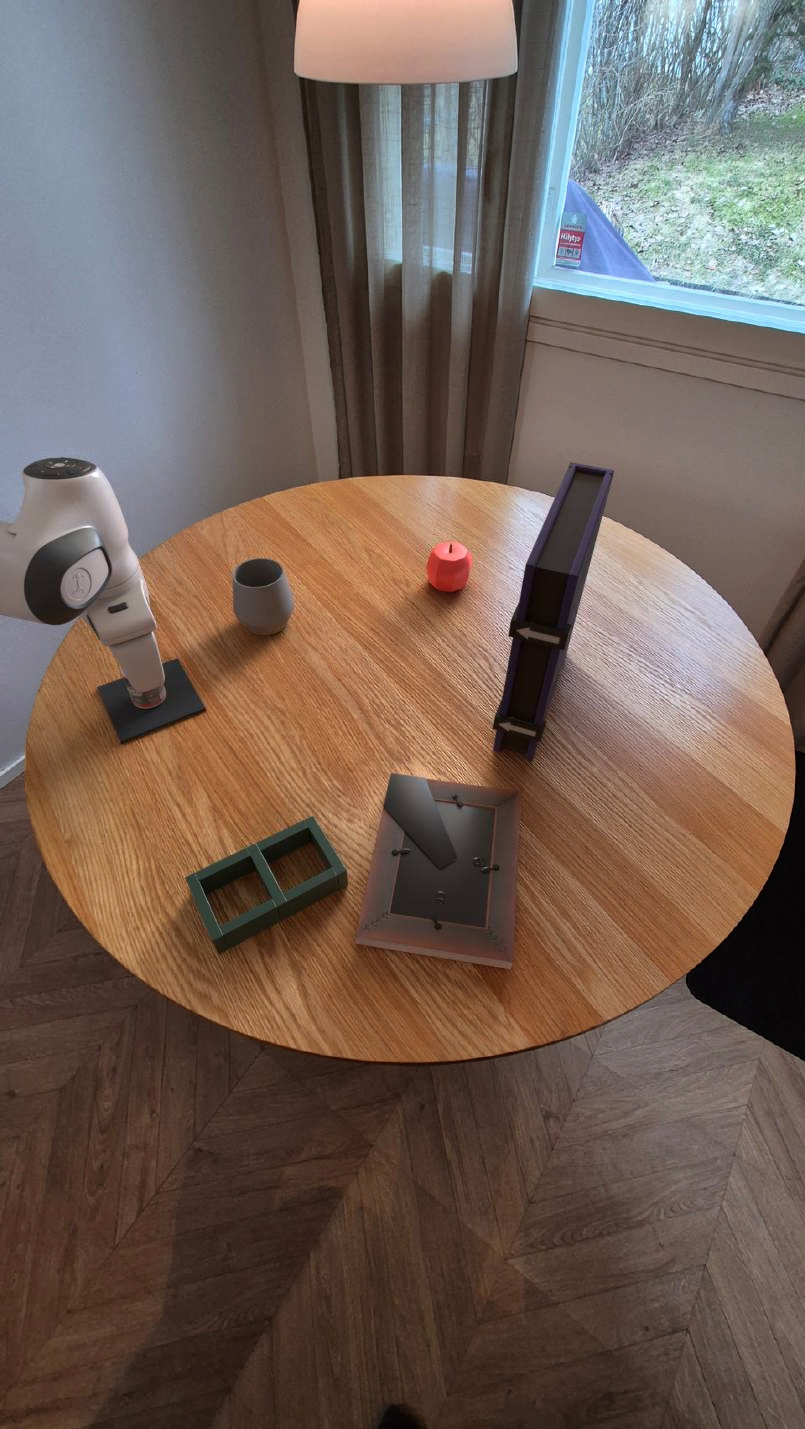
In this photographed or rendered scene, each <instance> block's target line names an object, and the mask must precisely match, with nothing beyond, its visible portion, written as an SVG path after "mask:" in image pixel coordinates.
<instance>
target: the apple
mask: <svg viewBox="0 0 805 1429" xmlns="http://www.w3.org/2000/svg"><path fill="white" fill-rule="evenodd" d="M473 565H474V563H473V556H472V555H471V553H470V551H469V550H468V549H467V548H466V547H465V546H464V545H463V544H461V543H459V542H454V541H445V542H442V543H441V542H440V543H439V544H436V545H435V546H434V547H433V548H432V549H431V552H430V554H429V556H428V558H427V563H426V566H425V568H426V574H427V578H428V582H429V583H430V584H431V585H432V586H433V587H434V588H435V589H436V590H438V591H440V592H449V593H450V592H451V593H453V592H455V591H458V590H461V589H464V588H466V586H467V582H468V580H469V578H470V573H471V572H472V571H471V570H472V568H473Z"/></svg>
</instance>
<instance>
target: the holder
mask: <svg viewBox="0 0 805 1429" xmlns="http://www.w3.org/2000/svg"><path fill="white" fill-rule="evenodd" d="M331 843H332V842H330V840H329V839H328V837H327V835H326V834H325V832H324V831H323V829H322V827H321V825H320V824H319V822H318V821H317V818H315V815H312V816H309V817H307V818H306V819H303V820H300V821H299V822H297V823H295V824H292V825H291V826H289V827H286V828H284V829H281V830H280V831H278V832H276V833H274V834H272V835H270V836H268V837H265V838H264V839H261V840H259V841H258V842H256V843H254V844H251V845H250V846H247V847H244V848H243V849H240V850H239V851H236V852H235V853H232V854H231V855H228V856H226V857H224V858H222V859H220V860H218V861H216V862H214V863H212V864H210V865H207V866H205V867H203V868H201V869H199V870H197V871H195V872H193V873H191V874H189V875H186V876H185V877H184V879H185V882H186V884H187V886H188V889H189V891H190V893H191V896H192V898H193V900H194V903H195V905H196V907H197V910H198V912H199V914H200V916H201V919H202V921H203V924H204V926H205V928H206V931H207V933H208V935H209V937H210V940H211V941H212V944H213V946H214V948H215V950H216V952H217V954H218V955H221V954H223V953H225V952H227V951H229V950H230V949H232V948H234V947H236V946H238V945H240V944H241V943H243V942H245V941H247V940H250V939H251V938H252V937H255V936H256V935H258V934H261V933H262V932H264V931H266V930H268V929H270V928H272V927H274V926H275V925H277V924H279V923H281V922H283V921H285V920H286V919H288V918H290V917H291V916H294V915H296V914H298V913H300V912H302V911H303V910H306V909H307V908H309V907H311V906H313V905H314V904H316V903H318V902H321V901H322V900H324V899H326V898H327V897H330V896H332V895H333V894H335V893H337V892H339V891H341V890H343V889H344V888H347V887H348V886H349V878H348V870H347V868H346V866H345V865H344V863H343V861H342V860H341V858H340V856H339V855H338V853H337V851H336V850H335V848H334V847H333V845H332V844H331ZM310 844H311V845H312V846H313V847H312V848H314V850H315V852H316V854H317V855H318V857H319V858H320V860H321V862H322V863H323V865H324V867H325V870H324V871H321V872H320V873H318V874H316V875H315V876H313V877H310V878H309V879H307V880H305V881H303V882H301V883H299V884H297V885H295V886H293V887H291V888H289V889H287V890H285V891H284V892H283V891H282V889H281V887H280V885H279V883H278V882H277V879H276V877H275V876H274V873H273V872H272V870H271V868H270V866H269V865H270V864H272V863H274V862H276V861H278V860H280V859H282V858H284V857H286V856H288V855H291V854H292V853H294V852H296V851H298V850H300V849H302V848H304V847H306V846H309V845H310ZM254 872H255V873H256V875H257V878H258V879H259V881H260V883H261V885H262V887H263V889H264V891H265V893H266V895H267V897H268V899H269V900H267V901H264V902H263V903H261V904H258V905H256V906H254V907H253V908H251V909H250V910H247V911H245V912H243V913H241V914H239V915H238V916H236V917H234V918H232V919H229V920H228V921H226V922H224V923H223V924H219V922H218V921H217V918H216V915H215V914H214V911H213V909H212V907H211V904H210V901H209V900H208V898H207V896H208V895H211V894H212V893H214V892H216V891H218V890H220V889H222V888H224V887H226V886H228V885H230V884H232V883H235V882H236V881H238V880H240V879H242V878H245V877H247V875H250V874H252V873H254Z"/></svg>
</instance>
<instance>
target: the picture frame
mask: <svg viewBox="0 0 805 1429" xmlns="http://www.w3.org/2000/svg"><path fill="white" fill-rule="evenodd" d="M521 808H522V791H520V790H512V789H505V788H500V787H499V788H498V787H497V788H496V787H490V786H483V785H475V784H469V783H460V782H453V781H448V780H447V781H446V780H439V779H432V778H426V777H424V776H417V775H408V774H401V773H393V772H390V775H389V780H388V783H387V789H386V792H385V797H384V801H383V806H382V812H381V817H380V820H379V825H378V830H377V834H376V839H375V844H374V847H373V848H374V849H373V854H372V857H371V862H370V867H369V871H368V874H367V880H366V884H365V885H366V886H365V888H364V894H363V898H362V899H363V900H362V902H361V907H360V913H359V917H358V922H357V925H356V930H355V935H354V939H355V944H356V945H361V946H366V947H367V946H368V947H373V948H380V949H385V950H390V951H391V950H392V951H397V952H403V953H409V954H415V955H421V956H422V955H423V956H428V957H434V958H440V959H445V960H452V961H457V962H465V963H470V964H476V965H481V966H482V965H483V966H488V967H495V968H501V969H508V970H512V966H513V964H514V954H515V953H514V949H515V948H514V947H515V931H516V927H515V926H516V912H517V911H516V910H517V889H518V871H519V870H518V869H519V866H518V865H519V850H520V828H521Z"/></svg>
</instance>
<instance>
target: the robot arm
mask: <svg viewBox="0 0 805 1429" xmlns="http://www.w3.org/2000/svg"><path fill="white" fill-rule="evenodd" d="M21 475H22V483H23V488H24V493H23V498H22V502H21V505H20V509H19V511H18V513H17V516H16V517H15V519H14V520H13V522H8V521H3V520H0V616H4V617H8V618H13V619H18V620H21V621H27V622H32V623H37V624H42V625H48V626H49V625H50V626H62V625H66V624H68V623H70V622H72V621H73V620H75V619H77V618H78V617H80V618H81V619H82V620H83V621H84V622H85V623H86V624H87V625H88V626H89V627H90V628H91V630H92V631H93V632H94V633H95V635H96V637H97V639H98V640H99V641H100V643H101V645H102V646H103V647H108V649H109V650H110V652H111V653H112V655H113V658H114V659H115V660H116V662H117V663H118V666H119V667H121V669H122V671H123V672H124V674H125V676H126V677H127V679H128V681H129V682H130V684H131V686H132V687H133V688H134V690H135V691H136V692H138V693H143V692H146V691H149V690H152V689H154V688H157V687H159V686H161V685H163V684H164V681H165V676H164V671H163V666H162V659H161V654H160V649H159V645H158V642H157V638H156V636H155V634H154V631H156V630H157V629H158V625H157V621H156V619H155V615H154V613H153V610H152V608H151V604H150V592H149V588H148V585H147V583H146V580H145V576H144V574H143V571H142V568H141V564H140V561H139V558H138V556H137V554H136V553H135V551H134V550H133V548H132V547H131V545H130V542H129V530H128V525H127V522H126V520H125V517H124V514H123V512H122V509H121V506H120V503H119V500H118V499H117V496H116V493H115V492H114V489H113V487H112V485H111V484H110V482H109V480H108V478H107V477H106V475H105V473H104V472H103V470H102V469H100V468H99V467H98V465H96V464H94V463H92V462H91V461H88V460H83V459H79V458H72V457H64V456H61V457H48V458H43V459H39V460H35V461H33V462H31V463H30V464H28V465H26V466H25V467H24V468H23V469H22V471H21Z"/></svg>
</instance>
